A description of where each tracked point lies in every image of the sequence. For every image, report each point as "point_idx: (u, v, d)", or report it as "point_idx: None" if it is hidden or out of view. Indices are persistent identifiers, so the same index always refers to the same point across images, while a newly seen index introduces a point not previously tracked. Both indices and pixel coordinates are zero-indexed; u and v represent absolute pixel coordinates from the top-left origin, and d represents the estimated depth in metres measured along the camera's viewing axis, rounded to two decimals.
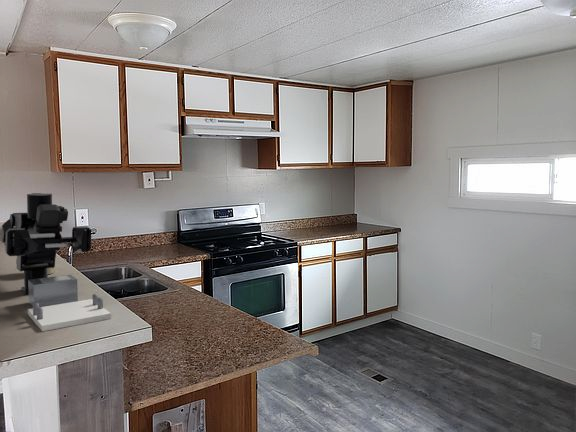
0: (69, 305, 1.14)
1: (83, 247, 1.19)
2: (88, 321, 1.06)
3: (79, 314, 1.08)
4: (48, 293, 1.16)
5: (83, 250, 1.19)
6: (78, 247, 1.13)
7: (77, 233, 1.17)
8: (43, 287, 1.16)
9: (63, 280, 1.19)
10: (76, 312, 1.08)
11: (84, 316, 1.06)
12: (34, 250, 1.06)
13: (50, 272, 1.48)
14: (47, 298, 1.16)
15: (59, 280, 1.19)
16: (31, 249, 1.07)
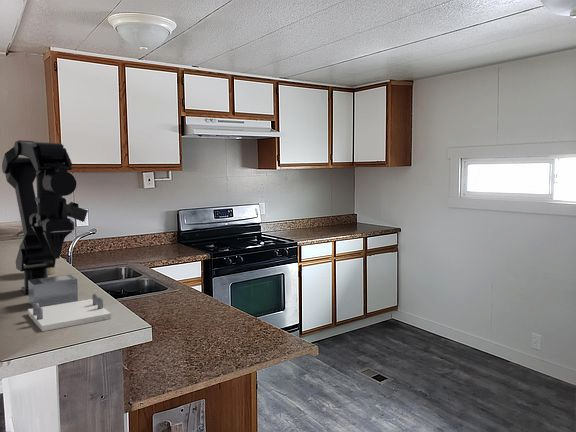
0: (69, 305, 1.14)
1: None
2: (88, 321, 1.06)
3: (79, 314, 1.08)
4: (48, 293, 1.16)
5: None
6: (46, 250, 1.22)
7: None
8: (43, 287, 1.16)
9: (63, 280, 1.19)
10: (76, 312, 1.08)
11: (84, 316, 1.06)
12: (55, 255, 1.15)
13: (50, 272, 1.48)
14: (47, 298, 1.16)
15: (59, 280, 1.19)
16: (55, 251, 1.14)
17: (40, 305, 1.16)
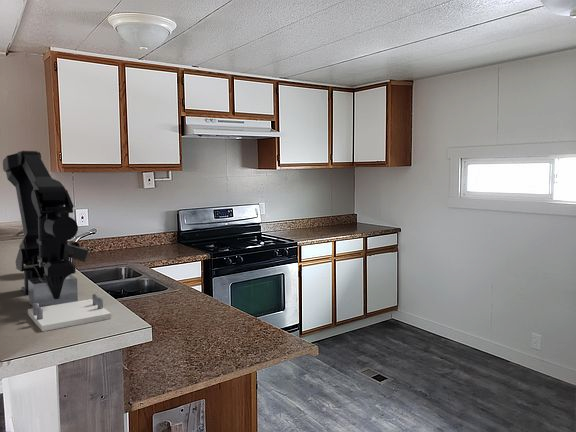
0: (69, 305, 1.14)
1: None
2: (88, 321, 1.06)
3: (79, 314, 1.08)
4: (47, 293, 1.16)
5: None
6: None
7: None
8: (43, 286, 1.16)
9: None
10: (76, 312, 1.08)
11: (84, 316, 1.06)
12: (54, 296, 1.17)
13: None
14: (47, 298, 1.16)
15: None
16: (55, 292, 1.16)
17: (40, 304, 1.16)
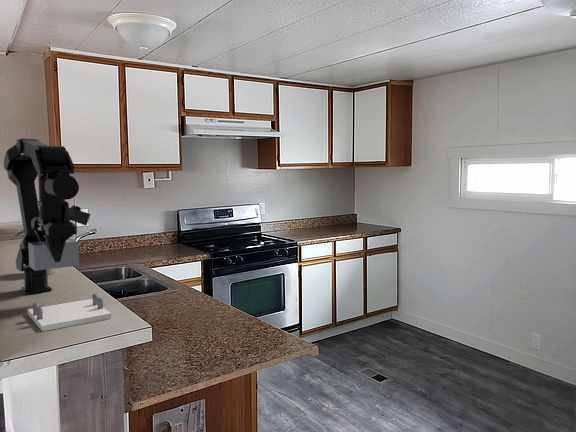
0: (69, 305, 1.14)
1: None
2: (88, 321, 1.06)
3: (79, 314, 1.08)
4: (48, 255, 1.14)
5: None
6: None
7: None
8: (43, 248, 1.13)
9: None
10: (76, 312, 1.08)
11: (84, 316, 1.06)
12: (55, 259, 1.14)
13: (50, 272, 1.48)
14: (47, 260, 1.14)
15: None
16: (56, 254, 1.14)
17: (41, 267, 1.13)
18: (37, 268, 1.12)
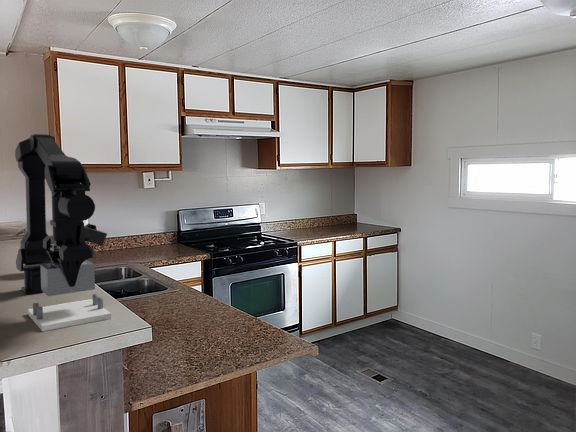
0: (69, 305, 1.14)
1: None
2: (88, 321, 1.06)
3: (79, 314, 1.08)
4: (62, 279, 1.05)
5: None
6: None
7: None
8: (57, 272, 1.04)
9: None
10: (76, 312, 1.08)
11: (84, 316, 1.06)
12: (70, 283, 1.06)
13: None
14: (61, 285, 1.05)
15: None
16: (70, 278, 1.05)
17: (54, 292, 1.04)
18: (50, 293, 1.04)
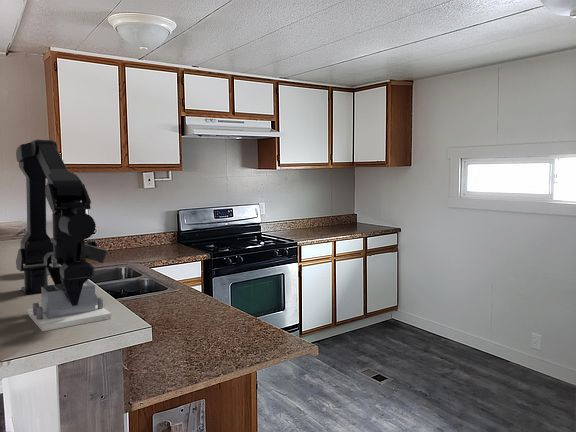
0: None
1: None
2: (88, 321, 1.06)
3: (79, 314, 1.08)
4: (63, 301, 1.06)
5: None
6: None
7: None
8: (58, 294, 1.05)
9: None
10: None
11: (84, 316, 1.06)
12: (72, 303, 1.05)
13: None
14: (62, 307, 1.06)
15: None
16: (73, 298, 1.05)
17: (55, 314, 1.05)
18: (51, 316, 1.04)
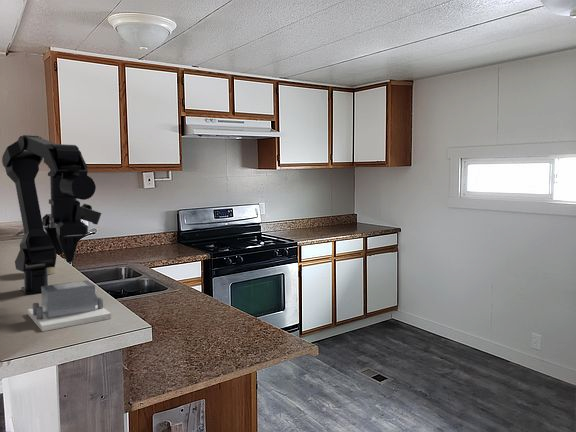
0: None
1: None
2: (88, 321, 1.06)
3: (79, 314, 1.08)
4: (63, 301, 1.06)
5: None
6: (58, 251, 1.21)
7: None
8: (58, 294, 1.05)
9: (80, 287, 1.08)
10: None
11: (84, 316, 1.06)
12: (68, 259, 1.14)
13: (50, 272, 1.48)
14: (62, 307, 1.06)
15: (75, 287, 1.08)
16: (68, 254, 1.13)
17: (55, 314, 1.05)
18: (51, 316, 1.04)
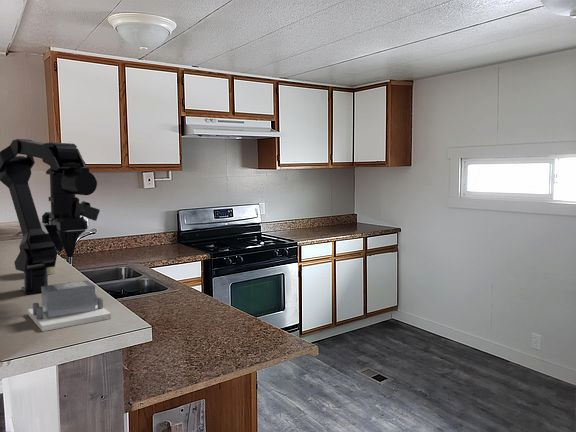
0: None
1: None
2: (88, 321, 1.06)
3: (79, 314, 1.08)
4: (63, 301, 1.06)
5: None
6: (58, 248, 1.24)
7: None
8: (58, 294, 1.05)
9: (80, 287, 1.08)
10: None
11: (84, 316, 1.06)
12: (68, 254, 1.17)
13: (50, 272, 1.48)
14: (62, 307, 1.06)
15: (75, 287, 1.08)
16: (68, 249, 1.16)
17: (55, 314, 1.05)
18: (51, 316, 1.04)
